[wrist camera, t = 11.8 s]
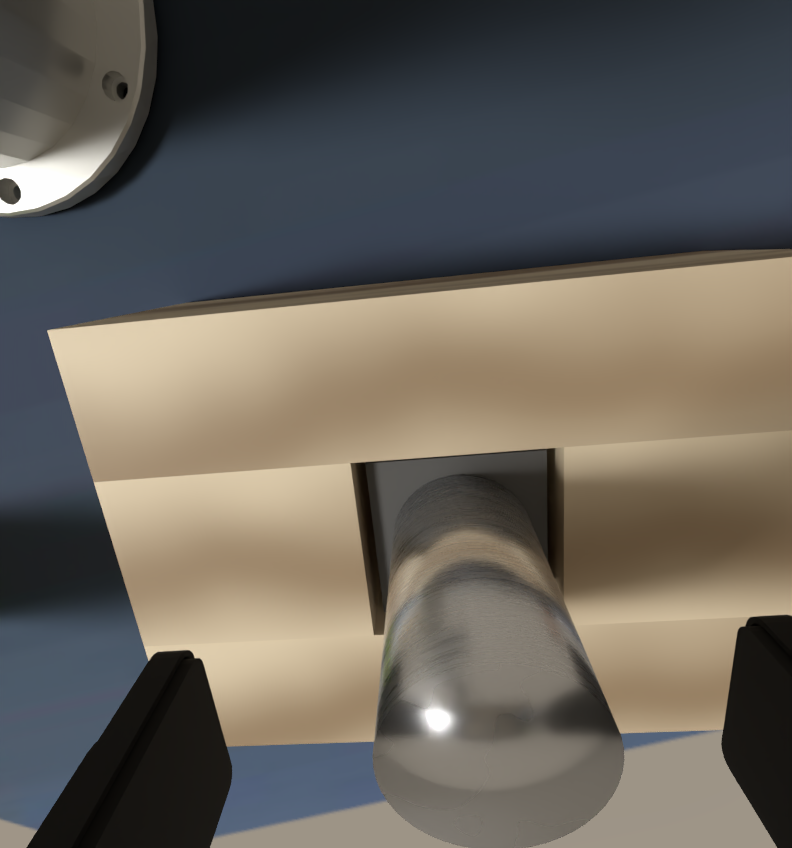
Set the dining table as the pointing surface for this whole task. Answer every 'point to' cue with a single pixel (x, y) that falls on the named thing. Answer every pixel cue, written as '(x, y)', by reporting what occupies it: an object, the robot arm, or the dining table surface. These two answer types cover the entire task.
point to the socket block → (447, 436)
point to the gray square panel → (405, 476)
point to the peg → (486, 679)
